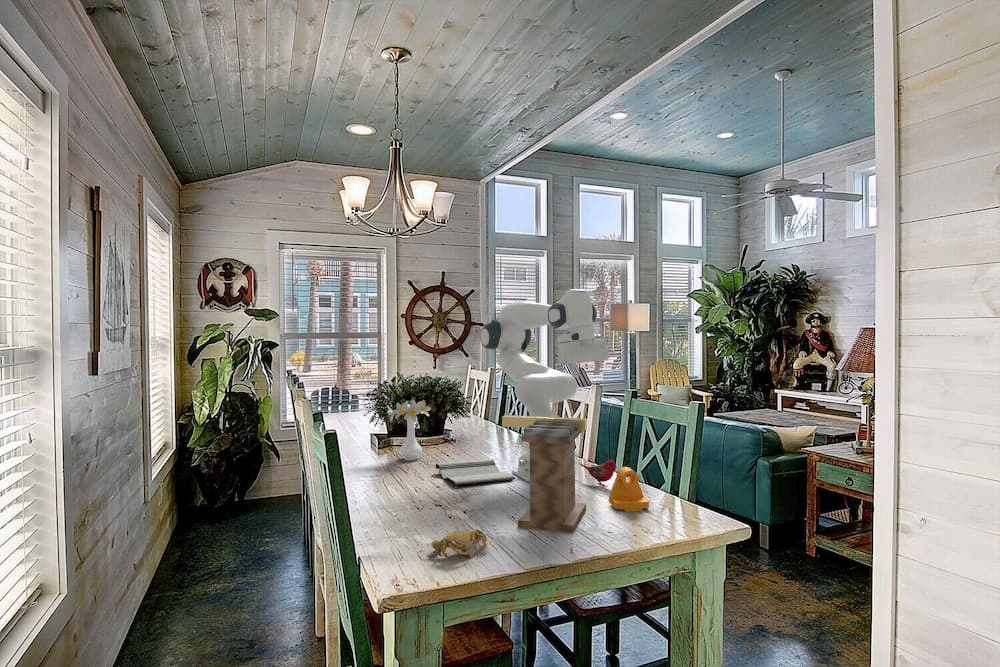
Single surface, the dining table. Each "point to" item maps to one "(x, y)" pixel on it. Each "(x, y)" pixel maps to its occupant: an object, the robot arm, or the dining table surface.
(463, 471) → the mat
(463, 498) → the dining table surface
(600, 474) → the decorative bird figurine
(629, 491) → the bracket
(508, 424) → the yellow bar
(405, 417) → the flower vase
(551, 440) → the stand
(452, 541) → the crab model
